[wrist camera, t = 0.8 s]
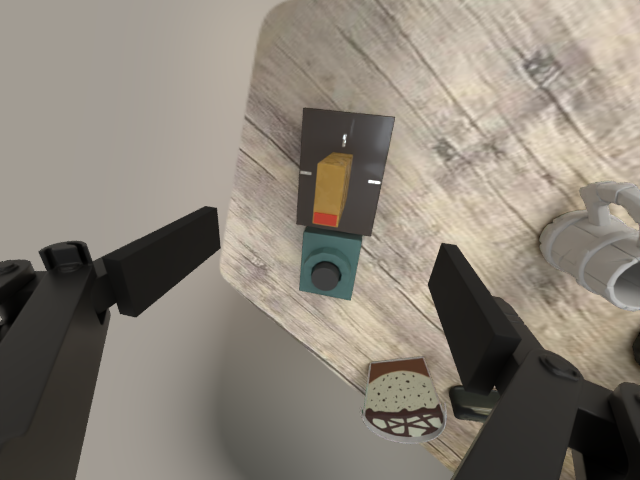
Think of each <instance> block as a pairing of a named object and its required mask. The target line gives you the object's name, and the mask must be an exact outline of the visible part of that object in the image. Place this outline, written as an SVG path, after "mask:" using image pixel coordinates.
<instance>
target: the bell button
mask: <svg viewBox="0 0 640 480" xmlns="http://www.w3.org/2000/svg"><path fill="white" fill-rule="evenodd" d="M311 280H312V283H313V285H314V286H315V287H316V288H318V289H320V290H322V291H330V290H332V289H334V288H335V287H336V286H337V284H338V280H339V270H338V268H337V267H336V266H335V265H334V264H332V263H330V262H321V263H319V264H317V265H316V267H315V268H314V271H313V273H312V276H311Z"/></svg>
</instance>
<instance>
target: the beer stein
mask: <svg viewBox="0 0 640 480" xmlns="http://www.w3.org/2000/svg"><path fill="white" fill-rule="evenodd" d="M633 351H634V356H635V360H636V362H637V363H638V364H639V365H640V333H639V335H638V337H637V339H636V341H635V342H634V344H633Z"/></svg>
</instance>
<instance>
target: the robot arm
mask: <svg viewBox="0 0 640 480" xmlns="http://www.w3.org/2000/svg"><path fill="white" fill-rule="evenodd" d="M217 215H218V214H217V208H214V207H207V206H205V207H203V208H201V209H199V210H197V211H195V212H193V213H191V214H188V215H186V216H184V217H183V218H180V219H178V220H176V221H174V222H172V223H171V224H168V225H166V226H164V227H162V228H160V229H159V230H157V231H154V232H152V233H150V234H148V235H146V236H144V237H142V238H140V239H137V240H135V241H133V242H131V243H129V244H127V245H125V246H123V247H121V248H120V249H117V250H115V251H113V252H111V253H109V254H107V255H105V256H103V257H101V258H99V259H97V260H95V261H92V258H91V256H90V253H89V250H88V247H87V244H86V243H84V242H82V241H67V242H61V243H56V244H53V245H49V246H47V247H45V248H43V249H41V250H40V251H39V254H40V256H41V258H42V261H43V263H44V265H45V268H46V270H47V271H34V269H33V267H32V264H31V262H30V261H27V260H7V261H4V262H3V261H2V262H0V316H1V318H2V320H1V322H0V480H75V478H76V473H77V469H78V464H79V460H80V455H81V450H82V446H83V441H84V436H85V432H86V426H87V423H88V418H89V413H90V409H91V404H92V399H93V395H94V390H95V386H96V381H97V376H98V372H99V367H100V362H101V357H102V353H103V348H104V344H105V339H106V335H107V330H108V325H109V320H110V311H109V307H111V306H112V305H114V304H115V303H117V306H118V309H119V312H120V314H123V315H127V316H132V317H137V316H138V315H140V314H141V313H142V312H143V311H144V310H146V309H147V308H148V307H149V306H151V305H152V304H153V303H154V302H155V301H157V300H158V299H159V298H160V297H162V296H163V295H164V294H165V293H166V292H168V291H169V290H170V289H171V288H172V287H174V286H175V285H176V284H177V283H179V282H180V281H181V280H182V279H184V278H185V277H186V276H187V275H188V274H189V273H191V272H192V271H193V270H194V269H196V268H197V267H198V266H199V265H200V264H202V263H203V262H204V261H205V260H207V259H208V258H209V257H210V256H211V255H213V254H214V253H215V252H216V251H218V250H219V249H220V248H221V247H220V237H219V225H218V216H217ZM428 287H429V290H430V293H431V296H432V299H433V301H434V304H435V307H436V310H437V313H438V316H439V319H440V322H441V324H442V327H443V330H444V333H445V336H446V339H447V342H448V344H449V347H450V350H451V353H452V356H453V359H454V362H455V365H456V367H457V370H458V373H459V376H460V379H461V382H462V385H463V388H464V390H465V391H466V392H470V393H475V394H479V395H483V396H488V395H489V394H490V392H491V390H492V389H493V387H494V385H495V387H496V389H497V391H498V393H499V395H500V398H499V399H498V401H497V402H496V404H495V405H494V407H493V409H492V410H491V412H490V413H489V415H488V417H487V419H486V421H485V423H484V424H483V426H482V428H481V429H480V431H479V433H478V434H477V436H476V438H475V439H474V441H473V443H472V444H471V446H470V448H469V449H468V451H467V453H466V455H465V456H464V458H463V460H462V461H461V463H460V465H459V466H458V468H457V470H456V471H455V473H454V475H453V476H452V478H451V480H559V478H560V474H561V470H562V466H563V462H564V459H565V455H566V451H567V447H570V448H571V450H572V457H573V463H574V470H575V476H576V480H640V385H637V384H635V383H628V382H624V383H621V384H619V386H618V387H617V388H616V389H615V390H614V391H612V390H609V389H607V388H604V387H602V386H599V385H597V384H594V383H592V382H589V381H587V380H584V378H583V376H582V374H581V373H580V372H579V370H578V369H577V368H576V367H575V366H574V365H572V364H571V363H570V362H569V361H567V360H566V359H564V358H563V357H561V356H560V355H557V354H555V353H553V352H551V351H548V350H545V349H544V348H543V347H542V345H541V344H540V343H539V342H538V340H537V339H536V338H535V336H534V335H533V334H532V332H531V331H530V330H529V329H528V327H527V326H526V325H524V322H523V321H522V319H521V318H520V317H518V314H517V313H516V312H515V310H514V309H513V308H512V306H510V305H509V304H508V303H507V302H505V301H504V300H503V299H502V298H500V297H494V296H492V295H491V294H490V292H489V291H488V290H487V288H486V287H485V285H484V284H483V282H482V281H481V280H480V278H479V277H478V275H477V274H476V272H475V271H474V270H473V268H472V267H471V265H470V264H469V262H468V261H467V260H466V258H465V257H464V255H463V254H462V252H461V251H460V249H459V248H458V247H457V245H452V244H446V243H441V246H440V249H439V252H438V255H437V258H436V261H435V264H434V267H433V270H432V273H431V276H430V279H429V282H428Z"/></svg>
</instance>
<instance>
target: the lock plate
mask: <svg viewBox="0 0 640 480" xmlns="http://www.w3.org/2000/svg"><path fill="white" fill-rule="evenodd" d="M394 120H395V117H390V116H380V115H371V114H361V113H351V112H342V111H332V110H322V109H313V108H303V122H302V139H301V155H300V172H299V189H298V205H297V222H296V224H298V225H304V226H310V227H316V228H322V229H328V230H334V231H341V232H347V233H353V234H359V235H365V236H371V233H372V228H373V223H374V218H375V214H376V209H377V204H378V199H379V194H380V189H381V184H382V179H383V174H384V169H385V164H386V160H387V155H388V150H389V145H390V140H391V135H392V130H393V125H394ZM332 152H335V153H343V154H351V155H353V159H352V166H351V172H350V179H349V186H348V193H347V200H346V203H345V206H344V209H343V212H342V215H341V218H340V221H339V224H338V227H331V226H325V225H319V224H313V223H312V221H313V210H314V199H315V188H316V177H317V166H318V163H319V162H320V161H322V160H323V159H324V158H326V157H327V156H328V155H330V154H331V153H332Z"/></svg>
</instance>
